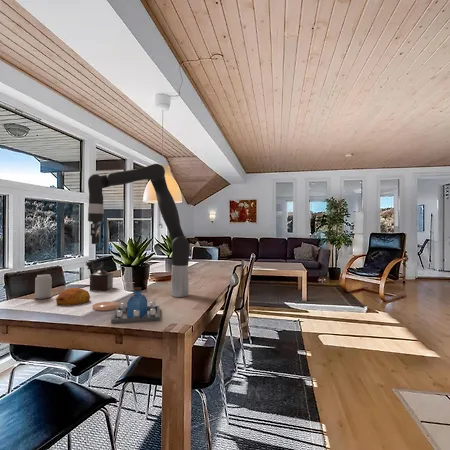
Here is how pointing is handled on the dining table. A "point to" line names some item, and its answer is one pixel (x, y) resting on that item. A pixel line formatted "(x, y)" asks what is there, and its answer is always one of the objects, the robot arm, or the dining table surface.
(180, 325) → the dining table surface
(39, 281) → the can
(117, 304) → the peach round disc
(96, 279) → the black coffee grinder
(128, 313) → the perfume bottle
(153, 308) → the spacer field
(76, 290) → the croissant
